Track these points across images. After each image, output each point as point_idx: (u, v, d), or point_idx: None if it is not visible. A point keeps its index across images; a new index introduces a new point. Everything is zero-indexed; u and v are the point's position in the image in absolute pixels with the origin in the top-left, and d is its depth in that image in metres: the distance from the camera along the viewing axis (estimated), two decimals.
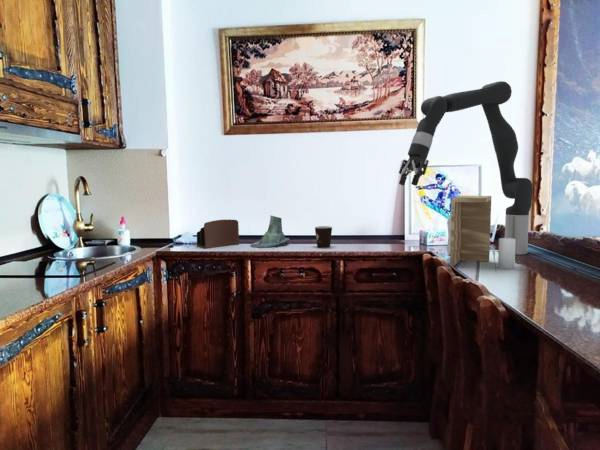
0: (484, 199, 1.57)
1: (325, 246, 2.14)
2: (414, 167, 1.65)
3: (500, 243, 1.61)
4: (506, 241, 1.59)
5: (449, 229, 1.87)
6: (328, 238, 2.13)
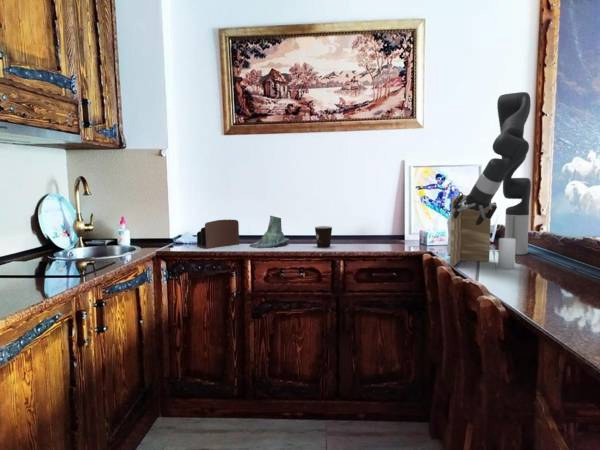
0: None
1: (325, 246, 2.14)
2: (483, 212, 1.56)
3: (500, 243, 1.61)
4: (506, 241, 1.59)
5: (449, 229, 1.87)
6: (328, 238, 2.13)
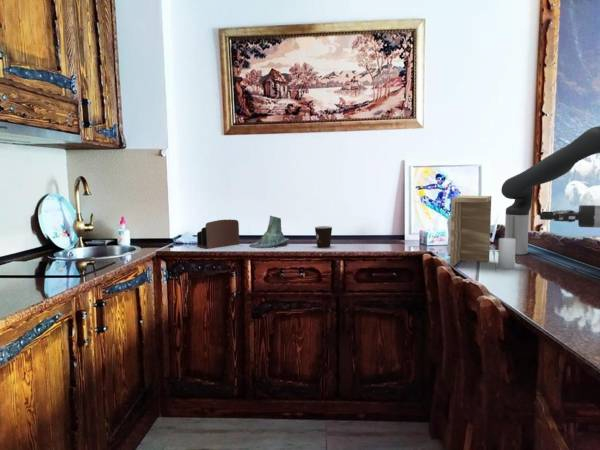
0: (484, 199, 1.57)
1: (325, 246, 2.14)
2: None
3: (500, 243, 1.61)
4: (506, 241, 1.59)
5: (449, 229, 1.87)
6: (328, 238, 2.13)
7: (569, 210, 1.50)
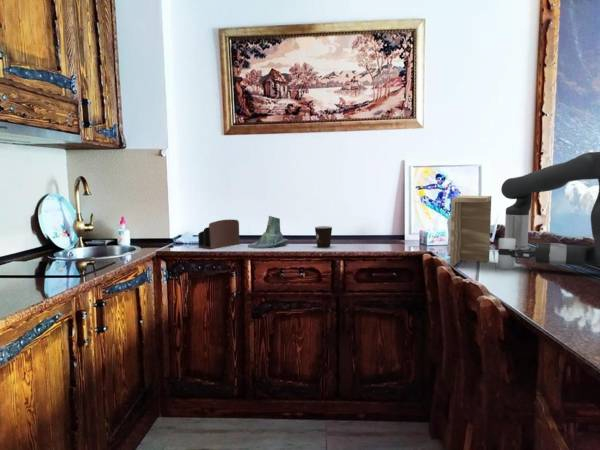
0: (484, 199, 1.57)
1: (325, 246, 2.14)
2: None
3: (500, 243, 1.61)
4: (506, 241, 1.59)
5: (449, 229, 1.87)
6: (328, 238, 2.13)
7: (528, 246, 1.58)
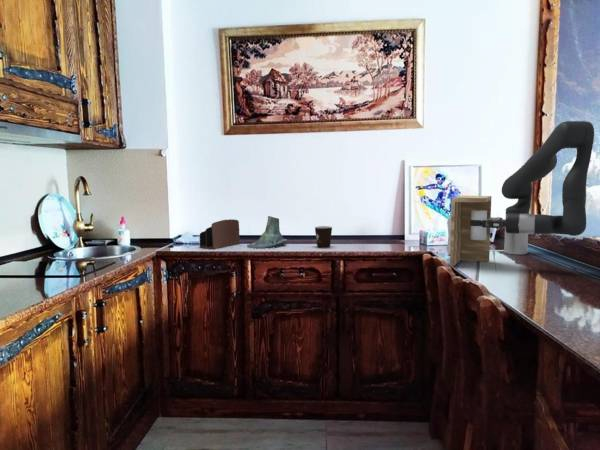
0: (484, 199, 1.57)
1: (325, 246, 2.14)
2: None
3: (472, 215, 1.65)
4: (477, 212, 1.62)
5: (449, 229, 1.87)
6: (328, 238, 2.13)
7: (499, 217, 1.62)
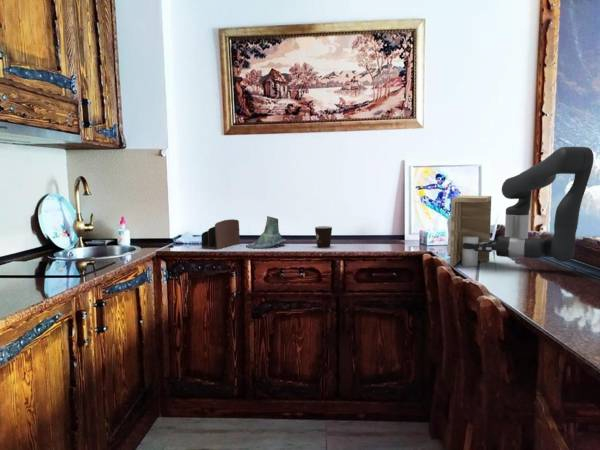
0: (484, 199, 1.57)
1: (325, 246, 2.14)
2: None
3: (463, 241, 1.67)
4: (469, 239, 1.65)
5: (449, 229, 1.87)
6: (328, 238, 2.13)
7: (489, 240, 1.65)
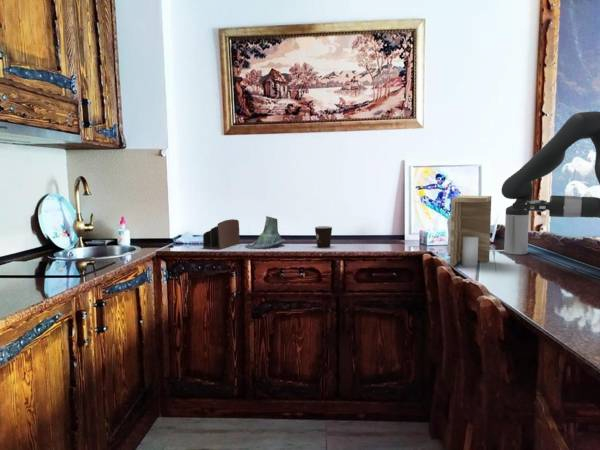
0: (484, 199, 1.57)
1: (325, 246, 2.14)
2: None
3: (463, 241, 1.67)
4: (469, 239, 1.65)
5: (449, 229, 1.87)
6: (328, 238, 2.13)
7: None
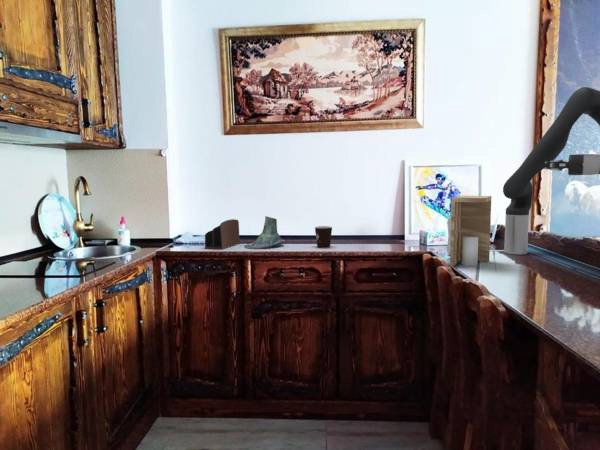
0: (484, 199, 1.57)
1: (325, 246, 2.14)
2: None
3: (463, 241, 1.67)
4: (469, 239, 1.65)
5: (449, 229, 1.87)
6: (328, 238, 2.13)
7: None
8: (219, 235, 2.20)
